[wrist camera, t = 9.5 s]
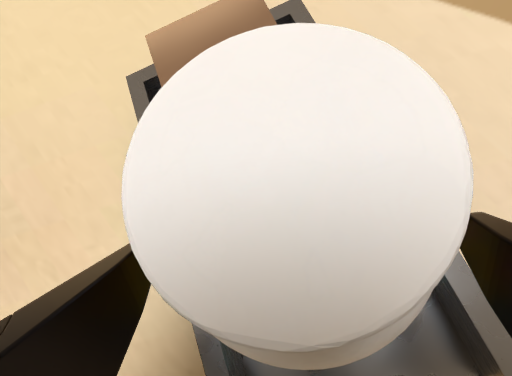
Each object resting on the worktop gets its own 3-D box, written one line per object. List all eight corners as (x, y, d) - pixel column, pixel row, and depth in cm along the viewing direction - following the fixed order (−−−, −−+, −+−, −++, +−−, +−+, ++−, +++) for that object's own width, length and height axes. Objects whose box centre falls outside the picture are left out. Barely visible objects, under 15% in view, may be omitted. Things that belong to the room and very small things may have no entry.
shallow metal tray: (491, 364, 14) (545, 389, 11) (256, 452, 15) (239, 501, 11) (301, 39, 22) (298, -5, 18) (153, 107, 22) (125, 76, 19)
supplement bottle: (337, 348, 14) (454, 692, 2) (223, 279, 16) (-34, 270, 4) (391, 225, 16) (652, 28, 4) (279, 175, 18) (201, -58, 6)
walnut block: (308, 138, 18) (304, 73, 12) (218, 177, 18) (175, 131, 13) (271, 67, 20) (254, -17, 15) (191, 103, 20) (145, 35, 15)
